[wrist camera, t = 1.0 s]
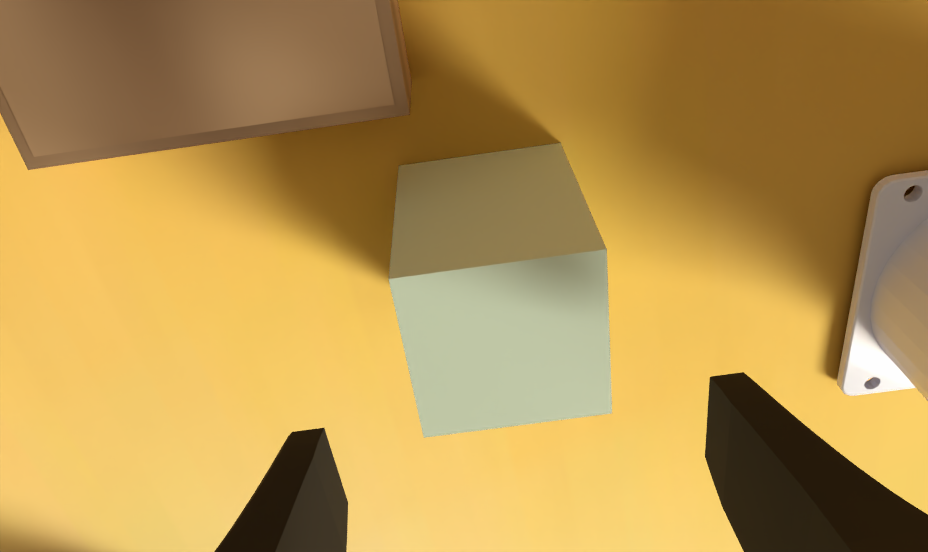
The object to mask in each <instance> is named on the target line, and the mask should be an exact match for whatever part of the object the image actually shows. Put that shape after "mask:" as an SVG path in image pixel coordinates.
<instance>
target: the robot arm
mask: <svg viewBox="0 0 928 552" xmlns="http://www.w3.org/2000/svg"><path fill="white" fill-rule="evenodd" d="M914 185H915V187H914V189H913V191H912V192H911V193H910V194H909V195H906V196H904V194H905V192H906V190H907V189H908V188H910V187H912V186H914ZM872 377H873V378H872ZM869 378H871V379H870V380H869V381H867V380H868V379H869ZM837 385H838V386H839V387H840V389H841V390H842V391H843V393H844V394H846V395H851V396H855V395H863V394H870V393H878V392H886V391H894V390H901V389H909V388H917V389H918V391H919V392H920V393H921V394H922V395H923V396H924V397H925V398H926V400H927V401H928V170H925V171H918V172H911V173H904V174H896V175H891V176H887V177H884V178H883V179H881V180H880V181H878V183H877V184H876V185H875V186H874V187H873V190H872V193H871V197H870V203H869V208H868V213H867V219H866V224H865V230H864V235H863V241H862V246H861V252H860V257H859V263H858V268H857V274H856V279H855V285H854V290H853V296H852V301H851V307H850V312H849V318H848V323H847V329H846V334H845V340H844V345H843V351H842V356H841V362H840V367H839V373H838V378H837ZM705 458H706V461H707V464H708V467H709V470H710V473H711V476H712V479H713V482H714V485H715V487H716V490H717V493H718V496H719V499H720V501H721V504H722V507H723V509H724V511H725V513H726V515H727V518H728V520H729V522H730V524H731V526H732V528H733V530H734V532H735V534H736V536H737V538H738V540H739V542H740V544H741V547H742V549H743V551H744V552H928V515H927V514H926V513H924V512H923V511H921V510H919V509H918V508H916V507H915V506H913V505H911V504H910V503H908V502H907V501H905V500H904V499H902V498H901V497H899V496H898V495H896V494H895V493H893V492H892V491H890V490H889V489H887V488H886V487H885V486H883V485H882V484H880V483H879V482H878V481H876V480H875V479H873V478H872V477H871V476H869V475H868V474H867V473H865V472H864V471H862V470H861V469H860V468H858V467H857V466H856V465H854V464H853V463H852V462H850V461H849V460H848V459H847V458H845V457H844V456H843V455H841V454H840V453H839V452H838V451H836V450H835V449H834V448H833V447H831V446H830V445H829V444H828V443H826V442H825V441H824V440H823V439H821V438H820V437H819V436H818V435H816V434H815V433H814V432H813V431H811V430H810V429H809V428H808V427H807V426H805V425H804V424H803V423H802V422H801V421H799V420H798V419H797V418H796V417H795V416H794V415H792V414H791V413H790V412H789V411H788V410H786V409H785V408H784V407H783V406H782V405H781V404H780V403H778V402H777V401H776V400H775V399H774V398H773V397H771V396H770V395H769V394H768V393H767V392H766V391H765V390H763V389H762V388H761V387H760V386H759V385H758V384H757V383H755V382H754V381H753V380H752V379H751V378H750V377H748V376H747V375H746V374H745V373H735V374H728V375H720V376H713V377H710V385H709V401H708V417H707V433H706V449H705ZM347 518H348V501H347V498H346V495H345V492H344V489H343V486H342V483H341V479H340V476H339V473H338V470H337V467H336V464H335V461H334V458H333V454H332V451H331V448H330V445H329V442H328V439H327V436H326V432H325V429H324V428H319V429H312V430H304V431H297V432H292V433H291V434H290V435H289V436H288V438H287V439H286V441H285V443H284V445H283V446H282V448H281V450H280V451H279V453H278V455H277V456H276V458H275V460H274V461H273V463H272V465H271V467H270V468H269V470H268V471H267V473H266V475H265V476H264V478H263V480H262V481H261V483H260V485H259V486H258V488H257V489H256V491H255V493H254V494H253V496H252V497H251V499H250V500H249V502H248V503H247V505H246V506H245V508H244V510H243V511H242V513H241V514H240V516H239V517H238V519H237V520H236V522H235V523H234V525H233V526H232V528H231V529H230V531H229V532H228V534H227V535H226V536H225V538H224V539H223V541H222V542H221V543H220V545H219V546H218V548H217V549H216V550H215V552H346V546H347Z"/></svg>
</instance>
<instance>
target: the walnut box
mask: <svg viewBox="0 0 928 552" xmlns="http://www.w3.org/2000/svg"><path fill="white" fill-rule="evenodd" d="M411 85H412V81H411V75H410V69H409V63H408V58H407V52H406V46H405V40H404V34H403V29H402V23H401V17H400V11H399V6H398V0H0V113H1V115H2V117H3V119H4V121H5V124H6V126H7V128H8V130H9V132H10V134H11V136H12V138H13V140H14V142H15V144H16V146H17V148H18V150H19V152H20V154H21V156H22V158H23V160H24V162H25V164H26V166H27V168H28V170H31V169H38V168H45V167H52V166H58V165H65V164H72V163H79V162H86V161H93V160H100V159H107V158H114V157H121V156H128V155H135V154H142V153H148V152H155V151H162V150H169V149H176V148H183V147H190V146H197V145H204V144H211V143H218V142H225V141H231V140H238V139H245V138H252V137H259V136H266V135H273V134H280V133H287V132H294V131H301V130H308V129H314V128H321V127H328V126H335V125H342V124H349V123H356V122H363V121H370V120H377V119H384V118H391V117H398V116H404V115H410V102H411Z"/></svg>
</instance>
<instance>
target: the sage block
mask: <svg viewBox="0 0 928 552" xmlns="http://www.w3.org/2000/svg"><path fill="white" fill-rule="evenodd" d="M389 283H390V288H391V292H392V297H393V301H394V306H395V310H396V315H397V319H398V324H399V328H400V333H401V337H402V342H403V346H404V351H405V355H406V360H407V364H408V369H409V373H410V378H411V382H412V387H413V391H414V396H415V400H416V405H417V409H418V413H419V418H420V422H421V427H422V431H423V436H424V438H425V437H432V436H440V435H448V434H456V433H463V432H471V431H479V430H487V429H494V428H502V427H510V426H518V425H525V424H533V423H541V422H549V421H556V420H564V419H572V418H580V417H587V416H595V415H603V414H611V413H612V397H611V367H610V336H609V305H608V274H607V249H606V247H605V244H604V242H603V240H602V237H601V235H600V233H599V230H598V228H597V226H596V223H595V221H594V219H593V217H592V214H591V212H590V210H589V207H588V205H587V203H586V200H585V198H584V196H583V194H582V191H581V189H580V187H579V184H578V182H577V180H576V177H575V175H574V173H573V170H572V168H571V166H570V164H569V161H568V159H567V157H566V154H565V152H564V150H563V147H562V145H561V143H555V144H548V145H541V146H534V147H527V148H520V149H513V150H506V151H498V152H491V153H484V154H477V155H470V156H463V157H456V158H449V159H442V160H435V161H428V162H421V163H414V164H407V165H400V166H399V168H398V179H397V190H396V201H395V212H394V224H393V235H392V246H391V257H390V269H389Z"/></svg>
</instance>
